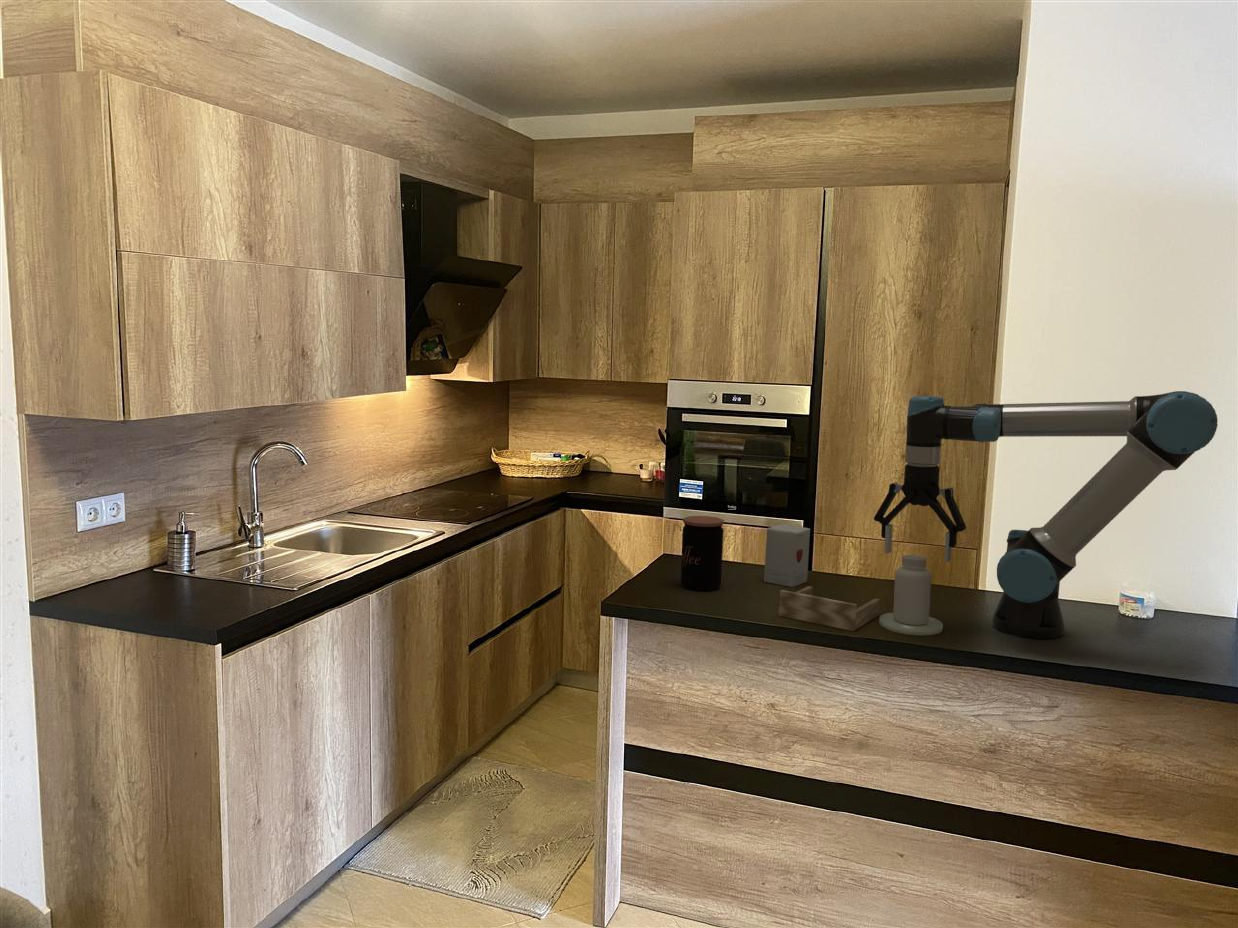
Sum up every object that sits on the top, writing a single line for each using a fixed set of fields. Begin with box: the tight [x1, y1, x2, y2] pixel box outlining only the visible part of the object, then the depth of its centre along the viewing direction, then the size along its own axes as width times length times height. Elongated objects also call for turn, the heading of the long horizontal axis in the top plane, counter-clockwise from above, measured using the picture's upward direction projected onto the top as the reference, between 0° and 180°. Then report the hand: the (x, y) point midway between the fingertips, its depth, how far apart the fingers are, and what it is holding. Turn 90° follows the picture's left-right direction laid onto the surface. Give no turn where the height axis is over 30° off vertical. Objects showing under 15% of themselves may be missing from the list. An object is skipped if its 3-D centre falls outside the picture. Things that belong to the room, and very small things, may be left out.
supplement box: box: [763, 523, 811, 588], centre depth 249 cm, size 9×9×15 cm
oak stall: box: [778, 585, 881, 632], centre depth 219 cm, size 18×16×6 cm
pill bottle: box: [892, 554, 932, 625], centre depth 211 cm, size 8×8×15 cm
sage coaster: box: [878, 612, 944, 637], centre depth 212 cm, size 14×14×1 cm
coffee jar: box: [680, 515, 725, 592], centre depth 241 cm, size 11×11×18 cm
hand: (917, 556), depth 210 cm, fingers open, 13 cm apart
